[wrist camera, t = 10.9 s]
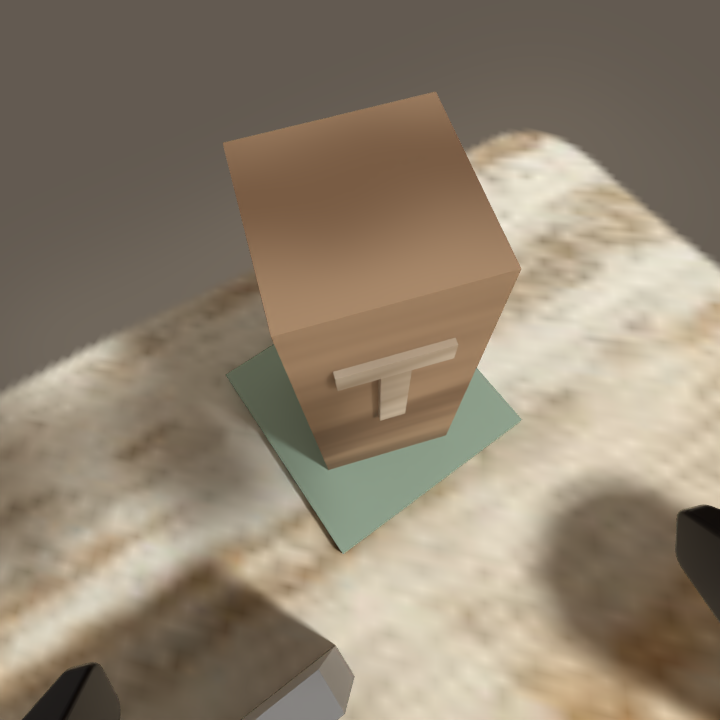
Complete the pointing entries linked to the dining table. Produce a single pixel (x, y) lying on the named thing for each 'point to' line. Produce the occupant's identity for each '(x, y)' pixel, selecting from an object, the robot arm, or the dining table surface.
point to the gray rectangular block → (311, 693)
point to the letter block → (373, 269)
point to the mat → (373, 475)
